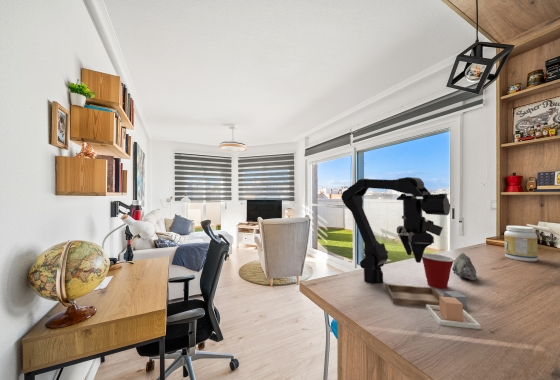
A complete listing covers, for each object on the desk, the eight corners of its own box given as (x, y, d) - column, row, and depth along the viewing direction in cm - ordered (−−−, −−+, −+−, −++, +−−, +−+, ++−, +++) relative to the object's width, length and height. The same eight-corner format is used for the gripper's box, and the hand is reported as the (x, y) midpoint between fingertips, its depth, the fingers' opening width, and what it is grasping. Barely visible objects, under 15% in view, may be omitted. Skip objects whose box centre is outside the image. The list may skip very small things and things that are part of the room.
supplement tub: (502, 254, 131) (501, 224, 131) (533, 257, 123) (532, 226, 124) (507, 259, 121) (506, 227, 121) (541, 263, 114) (540, 229, 114)
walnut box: (393, 305, 72) (393, 297, 72) (385, 290, 84) (385, 284, 84) (448, 311, 69) (448, 302, 69) (432, 294, 80) (432, 287, 80)
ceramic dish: (439, 327, 61) (439, 321, 61) (425, 309, 70) (425, 304, 70) (481, 332, 58) (480, 325, 58) (461, 313, 68) (461, 307, 68)
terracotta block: (463, 322, 62) (462, 304, 62) (446, 321, 63) (445, 302, 63) (455, 315, 66) (454, 297, 66) (439, 313, 67) (439, 296, 67)
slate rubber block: (453, 310, 70) (453, 296, 70) (444, 303, 74) (443, 291, 74) (466, 309, 70) (466, 296, 70) (456, 303, 74) (455, 291, 74)
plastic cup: (462, 290, 83) (461, 257, 84) (444, 296, 79) (443, 261, 79) (432, 280, 93) (431, 250, 93) (414, 284, 89) (413, 253, 89)
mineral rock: (472, 284, 89) (472, 258, 89) (441, 276, 98) (441, 252, 98) (485, 277, 95) (484, 253, 96) (455, 270, 105) (454, 248, 105)
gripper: (452, 216, 68) (454, 268, 68) (427, 211, 87) (428, 252, 86) (411, 215, 71) (412, 266, 71) (395, 211, 89) (396, 251, 89)
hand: (413, 258), depth 79 cm, fingers open, 9 cm apart
